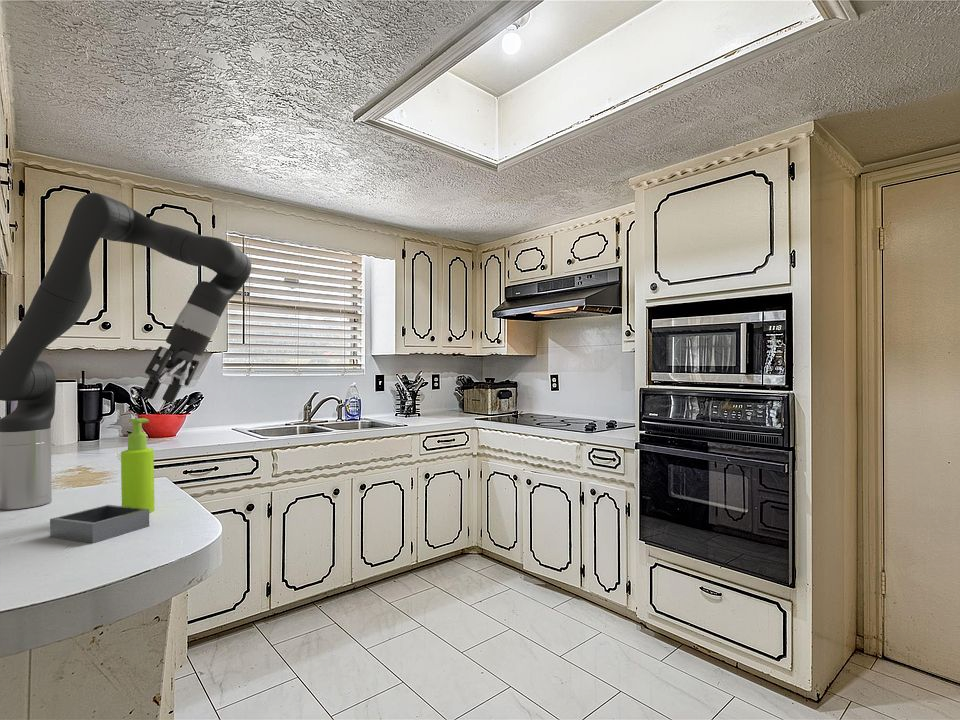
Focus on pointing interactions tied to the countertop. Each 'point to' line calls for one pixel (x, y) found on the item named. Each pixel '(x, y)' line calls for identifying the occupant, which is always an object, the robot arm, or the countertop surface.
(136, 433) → the soap dispenser
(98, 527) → the metal tray
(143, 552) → the countertop surface
